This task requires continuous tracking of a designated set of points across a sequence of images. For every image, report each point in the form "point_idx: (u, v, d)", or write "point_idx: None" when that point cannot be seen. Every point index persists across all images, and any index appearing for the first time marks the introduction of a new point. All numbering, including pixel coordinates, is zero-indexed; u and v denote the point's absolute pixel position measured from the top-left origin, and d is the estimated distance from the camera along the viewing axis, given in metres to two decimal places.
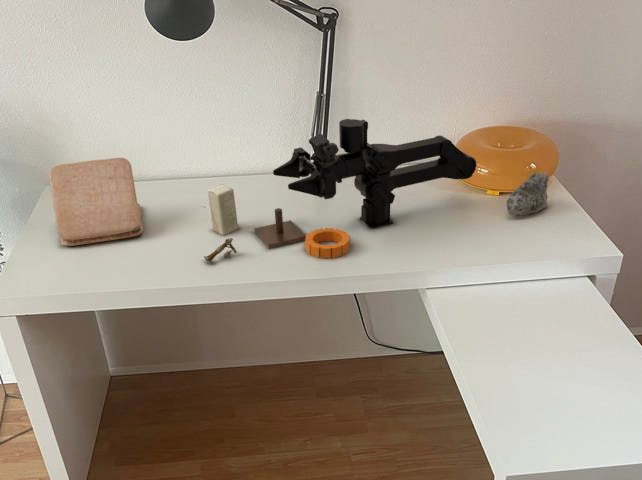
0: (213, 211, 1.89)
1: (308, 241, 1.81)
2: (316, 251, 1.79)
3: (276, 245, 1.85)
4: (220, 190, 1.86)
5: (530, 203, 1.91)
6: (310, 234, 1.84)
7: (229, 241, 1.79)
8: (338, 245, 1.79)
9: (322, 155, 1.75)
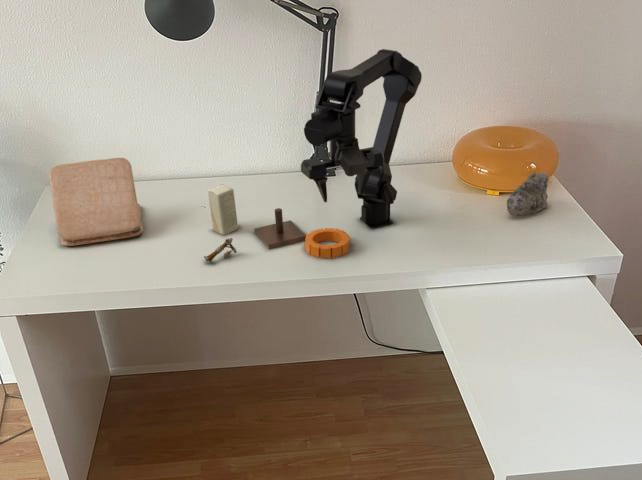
0: (213, 211, 1.89)
1: (308, 241, 1.81)
2: (316, 251, 1.79)
3: (276, 245, 1.85)
4: (220, 190, 1.86)
5: (530, 203, 1.91)
6: (310, 234, 1.84)
7: (229, 241, 1.79)
8: (338, 245, 1.79)
9: None
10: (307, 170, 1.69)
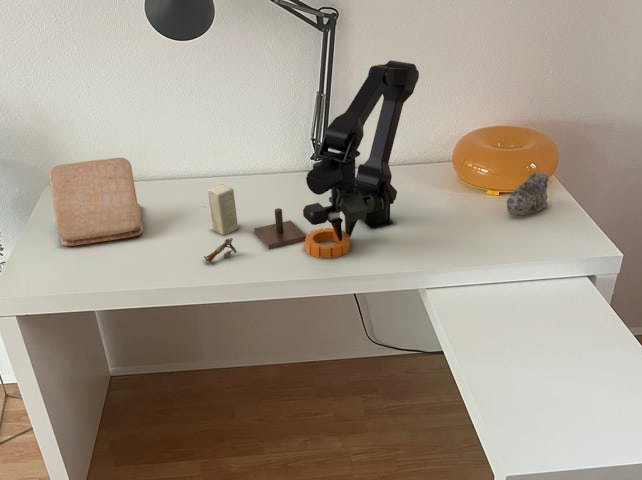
0: (213, 211, 1.89)
1: (308, 241, 1.81)
2: (316, 251, 1.79)
3: (276, 245, 1.85)
4: (220, 190, 1.86)
5: (530, 203, 1.91)
6: (310, 234, 1.84)
7: (229, 241, 1.79)
8: (338, 245, 1.79)
9: None
10: (309, 216, 1.75)
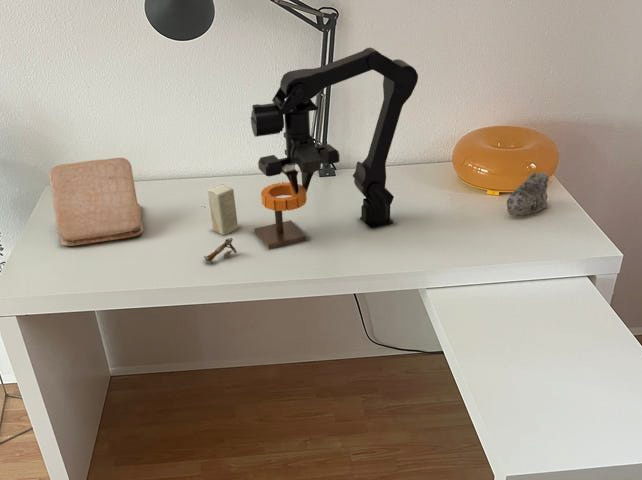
0: (213, 211, 1.89)
1: (264, 194, 1.80)
2: (271, 204, 1.78)
3: (276, 245, 1.85)
4: (220, 190, 1.86)
5: (530, 203, 1.91)
6: (267, 188, 1.83)
7: (229, 241, 1.79)
8: (293, 198, 1.78)
9: None
10: (264, 167, 1.75)
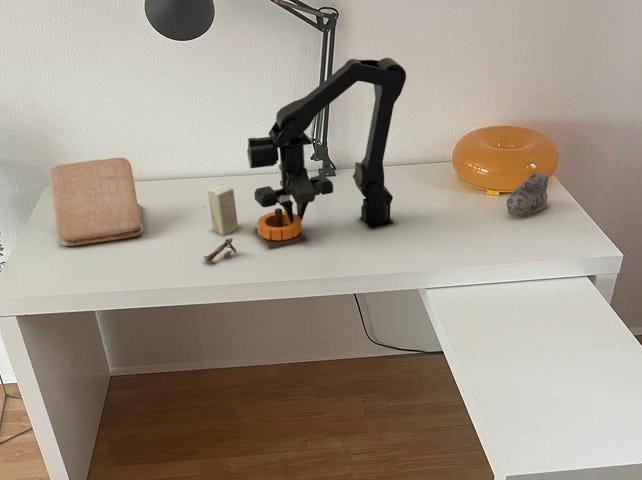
0: (213, 211, 1.89)
1: (260, 224, 1.86)
2: (267, 233, 1.84)
3: (276, 245, 1.85)
4: (220, 190, 1.86)
5: (530, 203, 1.91)
6: (263, 217, 1.89)
7: (229, 241, 1.79)
8: (288, 227, 1.84)
9: None
10: (259, 199, 1.80)
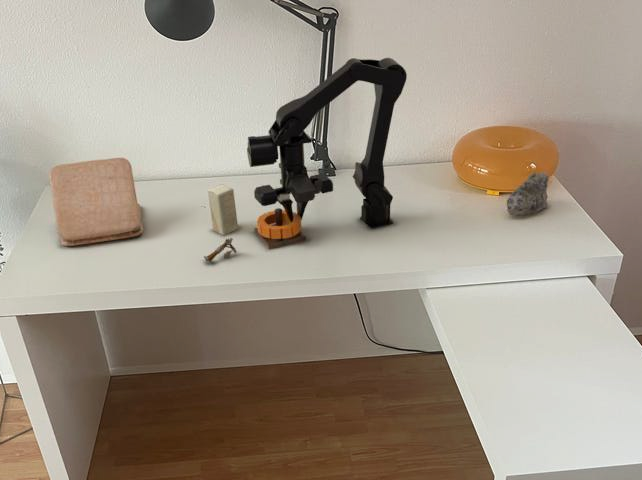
0: (213, 211, 1.89)
1: (260, 222, 1.86)
2: (266, 232, 1.84)
3: (276, 245, 1.85)
4: (220, 190, 1.86)
5: (530, 203, 1.91)
6: (263, 216, 1.89)
7: (229, 241, 1.79)
8: (288, 226, 1.83)
9: None
10: (259, 197, 1.80)
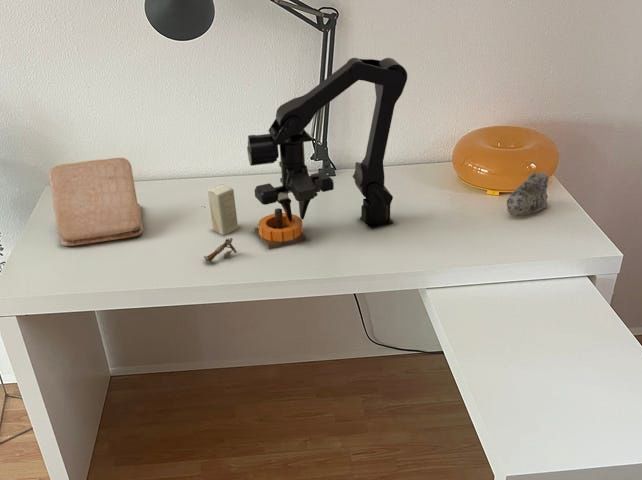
0: (213, 211, 1.89)
1: (261, 225, 1.86)
2: (268, 235, 1.84)
3: (276, 245, 1.85)
4: (220, 190, 1.86)
5: (530, 203, 1.91)
6: (264, 218, 1.89)
7: (229, 241, 1.79)
8: (289, 229, 1.84)
9: None
10: (260, 196, 1.80)
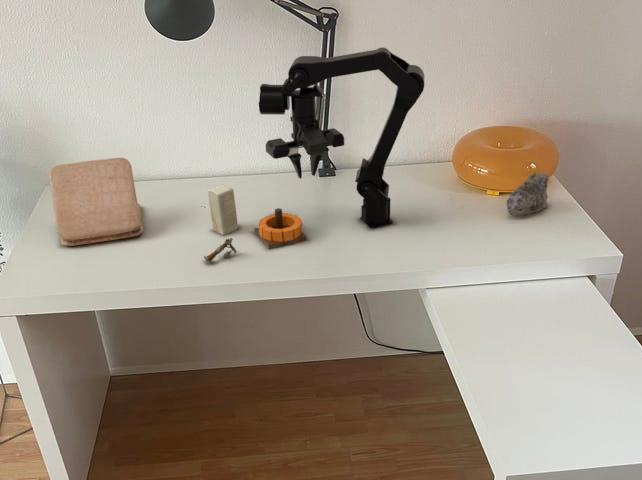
0: (213, 211, 1.89)
1: (261, 225, 1.86)
2: (268, 235, 1.84)
3: (276, 245, 1.85)
4: (220, 190, 1.86)
5: (530, 203, 1.91)
6: (264, 218, 1.89)
7: (229, 241, 1.79)
8: (289, 229, 1.84)
9: None
10: (271, 150, 1.80)
